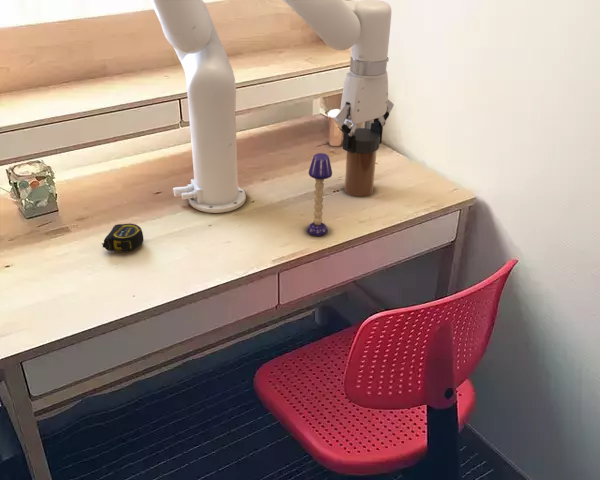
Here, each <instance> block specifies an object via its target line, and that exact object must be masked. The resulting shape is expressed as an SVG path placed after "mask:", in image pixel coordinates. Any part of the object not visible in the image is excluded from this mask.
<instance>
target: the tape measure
mask: <svg viewBox="0 0 600 480" xmlns="http://www.w3.org/2000/svg"><path fill="white" fill-rule="evenodd" d="M143 233H144V232H143V230H142V228H141V227H140V225H137V224H135V223H132V222H131V223H130V222H129V223H119V224H115V225H114V226H113V227H112V228H111V230H110V232H109V233H108V234H107V235H106V236H105V238H104V239H103V242H101V245H102V248H104V249H105V250H106V251H107V252H114V251H116V252H120V253H128V252H132V251H135V250H138V249H139V248H140V247H142V245H143V243H144V234H143Z"/></svg>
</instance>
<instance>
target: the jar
mask: <svg viewBox="0 0 600 480" xmlns="http://www.w3.org/2000/svg"><path fill="white" fill-rule="evenodd" d="M377 153H378V150H377V151H375V152H372V153H356V152H354V153H350V152H348V151H346V159H345V172H344V173H345V175H344V192H345V194H347V195H349V196H353V197H356V198H357V197H358V198H363V197H368V196H371V195H372V194H373V192H374V185H375V176H376V175H375V173H376V163H377Z"/></svg>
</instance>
